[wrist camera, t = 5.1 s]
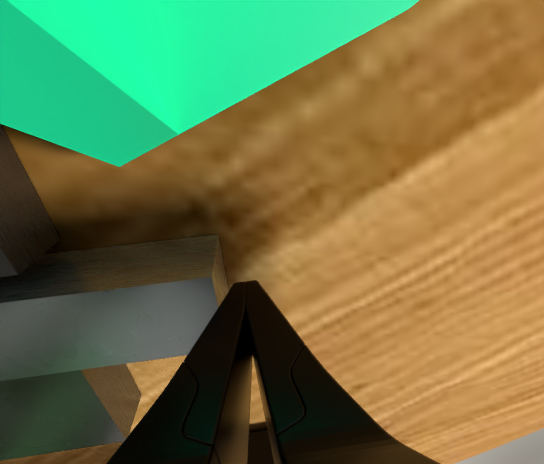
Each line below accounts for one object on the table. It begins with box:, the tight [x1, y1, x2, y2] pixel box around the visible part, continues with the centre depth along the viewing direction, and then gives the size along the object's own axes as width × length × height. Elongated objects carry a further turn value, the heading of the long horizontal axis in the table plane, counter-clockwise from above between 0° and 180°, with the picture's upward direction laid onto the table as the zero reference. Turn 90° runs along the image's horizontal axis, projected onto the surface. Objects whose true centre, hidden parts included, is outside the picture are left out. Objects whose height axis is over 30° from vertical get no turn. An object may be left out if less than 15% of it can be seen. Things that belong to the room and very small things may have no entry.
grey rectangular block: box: [0, 234, 229, 381], centre depth 9 cm, size 3×8×2 cm, turn 94°
